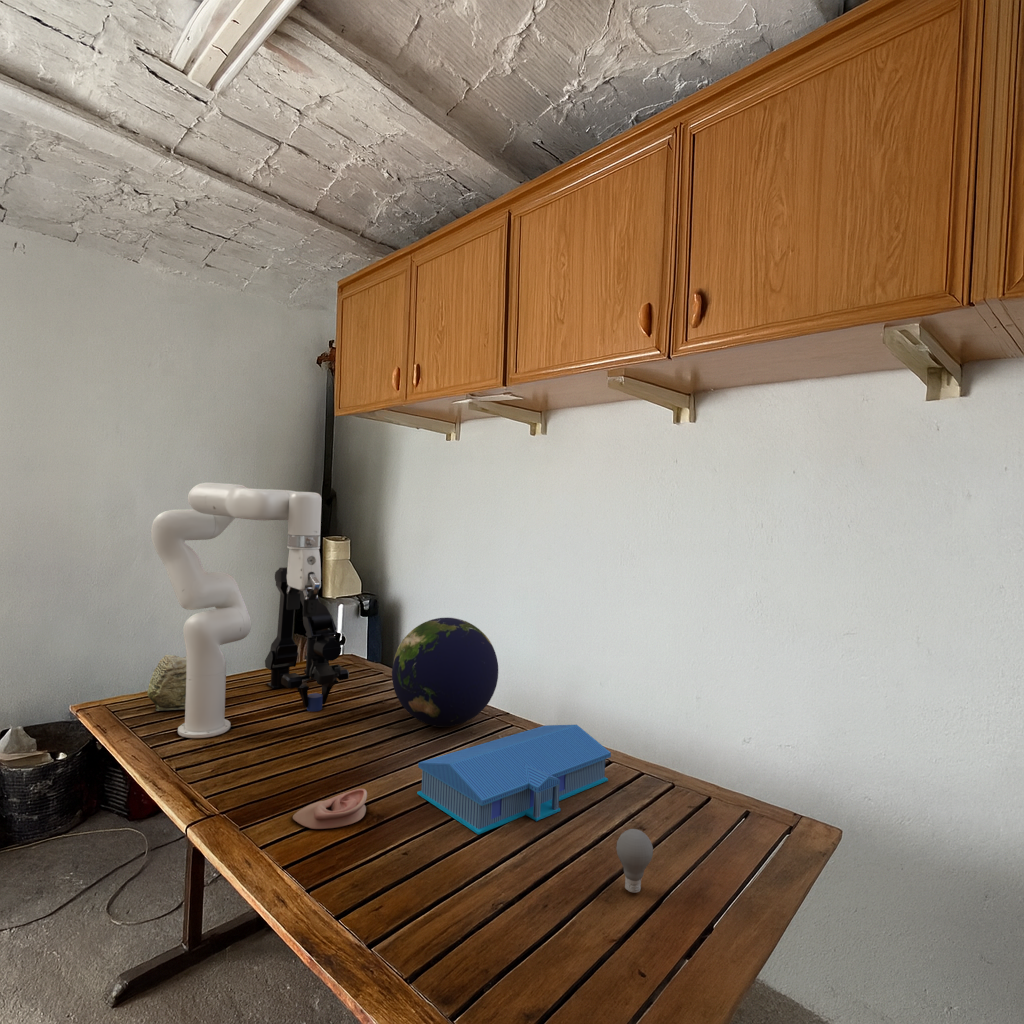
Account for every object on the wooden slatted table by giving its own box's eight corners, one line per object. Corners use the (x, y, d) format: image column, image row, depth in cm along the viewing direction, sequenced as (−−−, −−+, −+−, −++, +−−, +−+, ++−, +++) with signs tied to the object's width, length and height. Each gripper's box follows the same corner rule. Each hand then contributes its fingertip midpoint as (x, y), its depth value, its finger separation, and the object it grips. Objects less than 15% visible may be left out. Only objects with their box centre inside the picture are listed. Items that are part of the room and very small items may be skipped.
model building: (489, 841, 119) (491, 789, 119) (416, 793, 137) (417, 747, 137) (619, 785, 145) (621, 742, 145) (543, 750, 163) (545, 712, 163)
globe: (368, 731, 171) (372, 620, 171) (424, 700, 199) (427, 605, 198) (467, 752, 160) (472, 634, 160) (512, 716, 188) (516, 616, 187)
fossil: (144, 707, 182) (145, 655, 182) (212, 696, 194) (213, 647, 194) (151, 716, 175) (153, 662, 175) (221, 703, 188) (223, 653, 188)
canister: (324, 710, 187) (325, 696, 187) (309, 712, 184) (310, 698, 184) (318, 705, 191) (319, 692, 191) (304, 708, 188) (305, 694, 188)
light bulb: (610, 879, 108) (613, 822, 108) (644, 879, 109) (647, 822, 109) (619, 902, 102) (622, 840, 102) (655, 901, 103) (658, 840, 103)
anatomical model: (284, 804, 122) (315, 778, 133) (284, 824, 122) (314, 797, 133) (348, 814, 119) (374, 787, 130) (348, 835, 119) (373, 806, 130)
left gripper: (334, 545, 150) (331, 617, 150) (304, 539, 163) (301, 606, 163) (303, 545, 145) (300, 620, 145) (275, 540, 158) (272, 608, 158)
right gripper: (296, 663, 175) (294, 719, 175) (358, 655, 187) (356, 707, 188) (281, 655, 184) (279, 708, 184) (341, 647, 196) (339, 697, 196)
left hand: (301, 612), depth 154 cm, fingers open, 9 cm apart
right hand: (314, 705), depth 188 cm, fingers open, 5 cm apart
